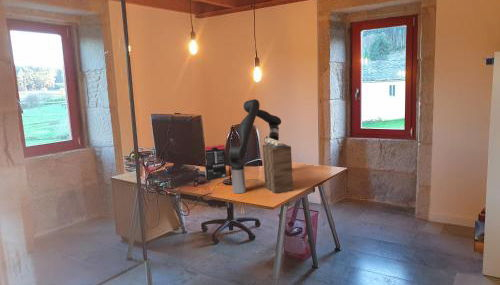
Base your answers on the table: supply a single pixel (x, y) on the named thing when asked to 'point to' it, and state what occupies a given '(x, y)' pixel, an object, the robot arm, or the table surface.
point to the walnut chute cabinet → (278, 167)
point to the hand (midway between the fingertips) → (273, 149)
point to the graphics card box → (215, 162)
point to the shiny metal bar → (272, 141)
